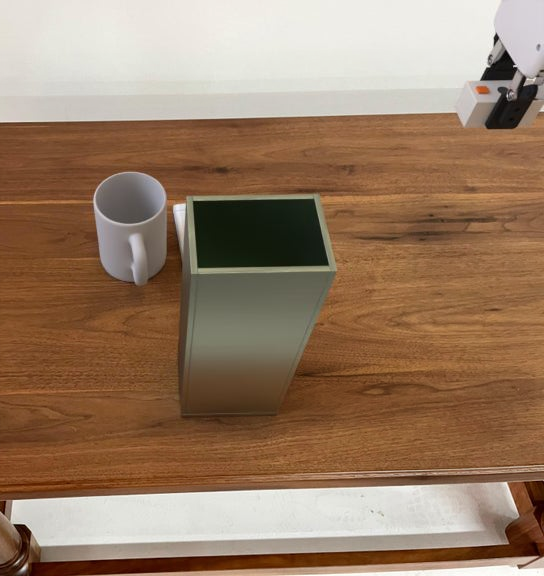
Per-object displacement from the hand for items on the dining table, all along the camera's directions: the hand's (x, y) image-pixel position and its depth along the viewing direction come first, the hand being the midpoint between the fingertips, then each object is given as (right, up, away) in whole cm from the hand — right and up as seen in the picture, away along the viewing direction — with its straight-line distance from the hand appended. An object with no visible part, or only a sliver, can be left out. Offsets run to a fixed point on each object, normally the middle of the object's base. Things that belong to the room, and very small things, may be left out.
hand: (493, 112), depth 63 cm
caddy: (-28, -29, +4) cm, 41 cm away
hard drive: (-28, -13, +15) cm, 35 cm away
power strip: (0, 0, 0) cm, 0 cm away
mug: (-38, -16, +13) cm, 43 cm away
